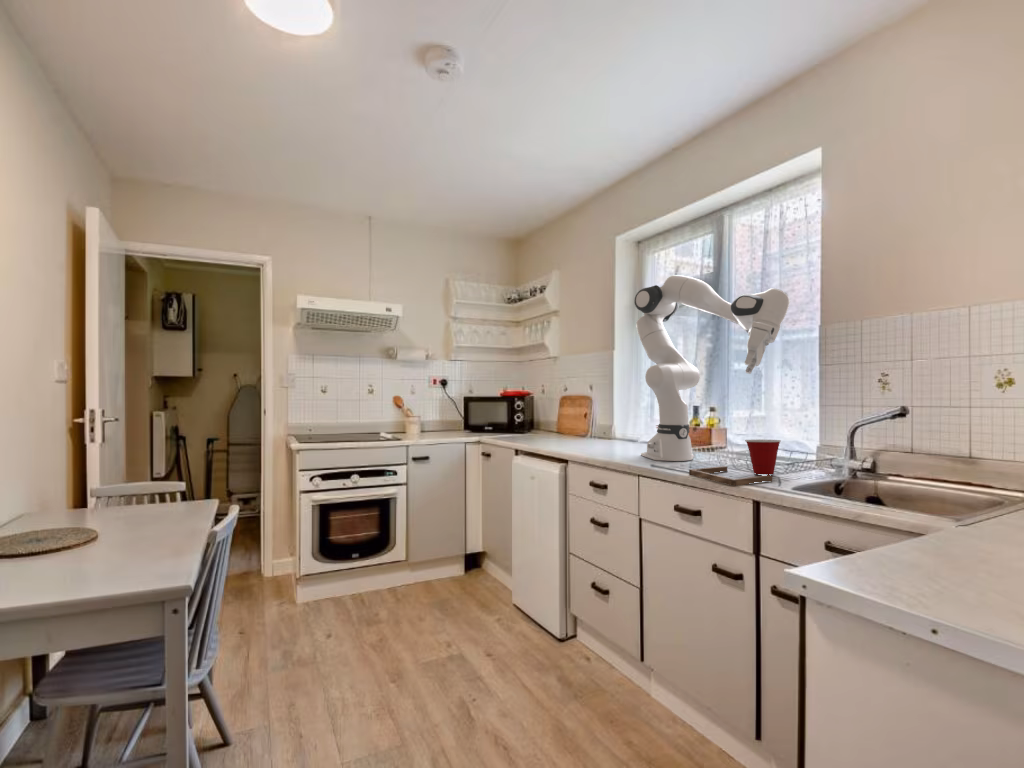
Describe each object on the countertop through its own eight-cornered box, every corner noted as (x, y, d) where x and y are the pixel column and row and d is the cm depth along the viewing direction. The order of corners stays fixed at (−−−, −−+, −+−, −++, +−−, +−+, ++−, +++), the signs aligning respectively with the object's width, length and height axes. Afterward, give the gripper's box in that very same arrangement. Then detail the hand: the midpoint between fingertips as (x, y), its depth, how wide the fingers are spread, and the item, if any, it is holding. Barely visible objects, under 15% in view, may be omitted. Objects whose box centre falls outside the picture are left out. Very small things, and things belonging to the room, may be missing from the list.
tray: (689, 474, 170) (689, 469, 170) (724, 471, 175) (724, 466, 175) (733, 486, 151) (733, 480, 151) (772, 481, 156) (771, 475, 156)
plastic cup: (773, 471, 173) (772, 436, 173) (787, 477, 162) (786, 440, 162) (740, 471, 174) (740, 437, 174) (752, 477, 163) (752, 440, 163)
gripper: (753, 341, 185) (739, 374, 184) (752, 319, 167) (736, 356, 166) (772, 346, 181) (757, 380, 180) (772, 324, 164) (756, 362, 163)
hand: (747, 368), depth 173 cm, fingers open, 8 cm apart
